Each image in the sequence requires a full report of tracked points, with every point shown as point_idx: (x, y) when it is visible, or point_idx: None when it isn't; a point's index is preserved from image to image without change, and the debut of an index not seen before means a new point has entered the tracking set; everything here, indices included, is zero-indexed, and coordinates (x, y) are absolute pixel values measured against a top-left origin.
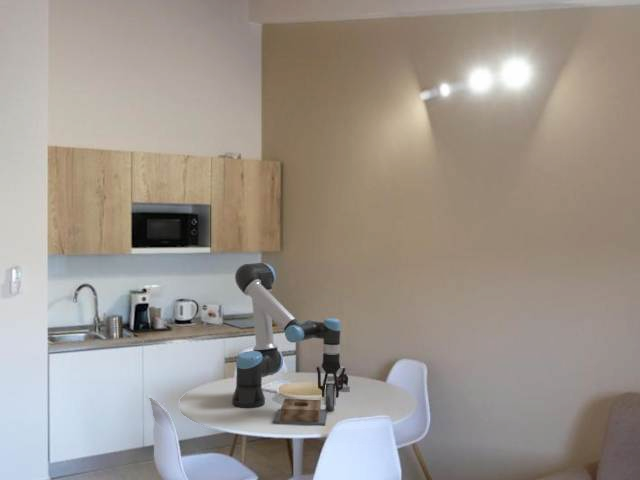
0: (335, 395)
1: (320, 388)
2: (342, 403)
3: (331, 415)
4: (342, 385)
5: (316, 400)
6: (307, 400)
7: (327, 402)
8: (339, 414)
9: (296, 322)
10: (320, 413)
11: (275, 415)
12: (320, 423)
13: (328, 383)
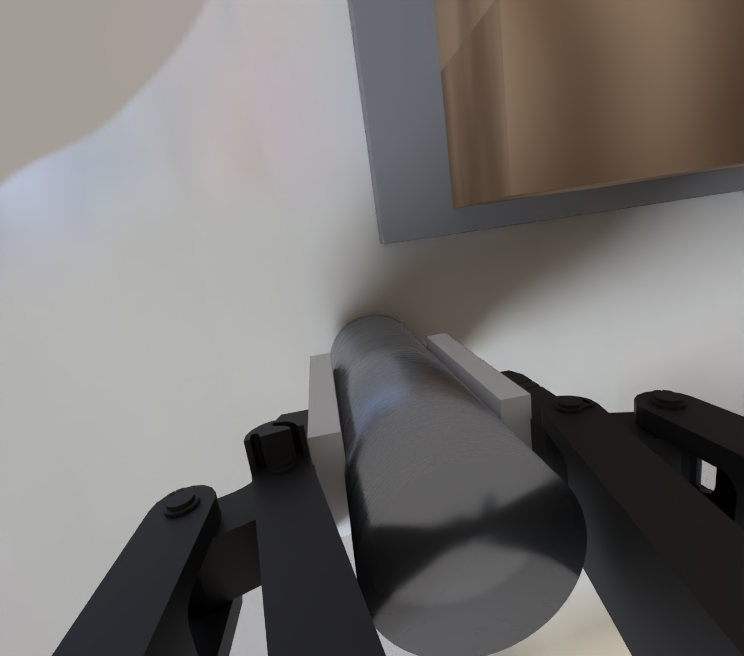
0: (316, 401)
1: (625, 416)
2: None
3: (319, 170)
4: (125, 567)
5: (568, 148)
6: (693, 112)
7: (413, 339)
8: (243, 233)
9: None
10: (438, 115)
11: None
12: None
13: (530, 565)
